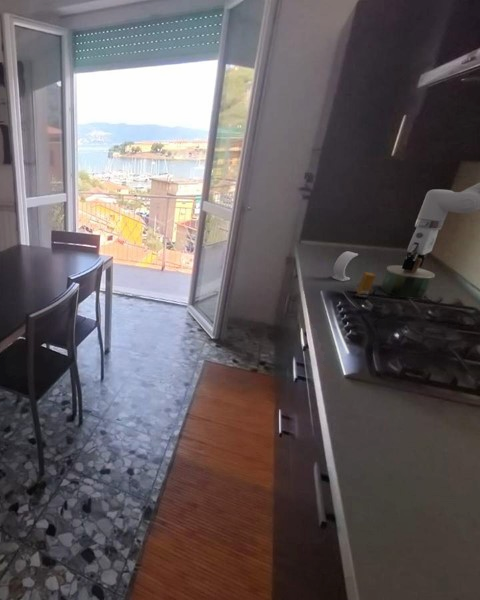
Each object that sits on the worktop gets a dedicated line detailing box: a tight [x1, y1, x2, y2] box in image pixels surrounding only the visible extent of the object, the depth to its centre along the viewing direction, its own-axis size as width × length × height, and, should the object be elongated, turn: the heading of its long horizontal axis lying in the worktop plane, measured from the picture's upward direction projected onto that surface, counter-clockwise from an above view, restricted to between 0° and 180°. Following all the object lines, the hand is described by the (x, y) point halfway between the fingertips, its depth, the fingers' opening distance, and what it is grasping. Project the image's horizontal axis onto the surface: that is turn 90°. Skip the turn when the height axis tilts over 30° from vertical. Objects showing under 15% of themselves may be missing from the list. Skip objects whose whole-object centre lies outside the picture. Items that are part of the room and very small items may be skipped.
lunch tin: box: [380, 269, 433, 300], centre depth 144 cm, size 14×14×8 cm
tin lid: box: [386, 257, 436, 279], centre depth 141 cm, size 15×15×7 cm
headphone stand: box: [331, 250, 359, 282], centre depth 157 cm, size 5×6×12 cm
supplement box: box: [355, 271, 377, 296], centre depth 139 cm, size 3×4×10 cm
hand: (411, 267), depth 141 cm, fingers open, 7 cm apart
